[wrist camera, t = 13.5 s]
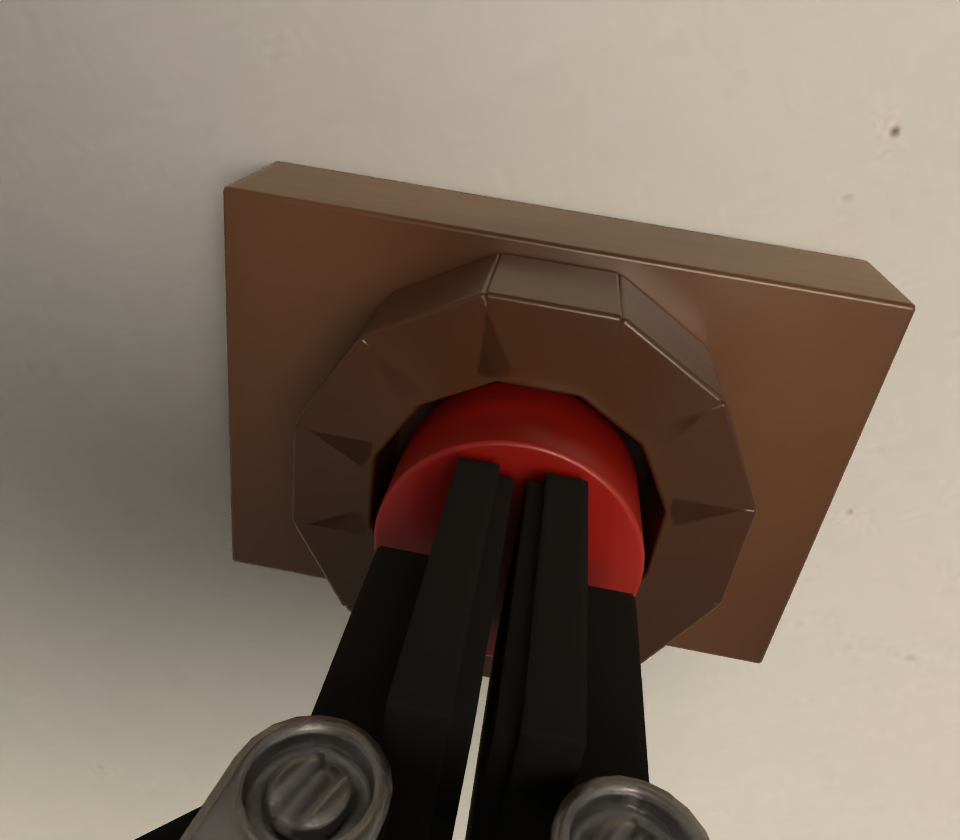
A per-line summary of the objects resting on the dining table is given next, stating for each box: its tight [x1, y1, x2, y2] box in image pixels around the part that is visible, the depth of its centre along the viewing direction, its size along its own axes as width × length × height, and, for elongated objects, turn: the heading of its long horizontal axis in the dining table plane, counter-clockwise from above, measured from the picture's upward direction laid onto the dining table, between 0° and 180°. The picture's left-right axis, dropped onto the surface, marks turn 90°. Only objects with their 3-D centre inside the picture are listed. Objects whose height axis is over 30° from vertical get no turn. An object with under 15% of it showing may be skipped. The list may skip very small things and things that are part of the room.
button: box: [374, 383, 645, 657], centre depth 11 cm, size 4×4×2 cm
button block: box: [223, 161, 915, 678], centre depth 13 cm, size 10×7×4 cm
